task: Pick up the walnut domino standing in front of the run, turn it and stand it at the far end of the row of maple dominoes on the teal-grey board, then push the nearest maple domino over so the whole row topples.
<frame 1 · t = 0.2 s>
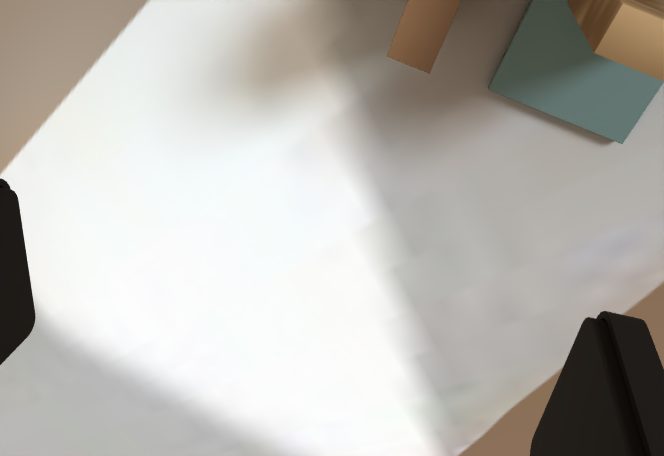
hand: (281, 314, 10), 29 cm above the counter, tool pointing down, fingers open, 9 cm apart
domino 4: (621, 2, 33), resting on board
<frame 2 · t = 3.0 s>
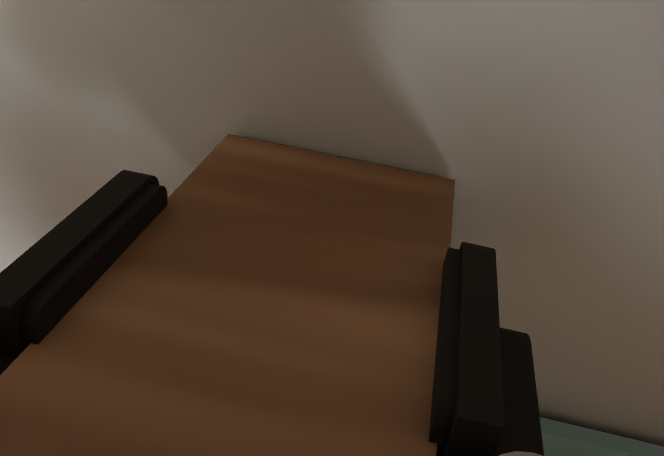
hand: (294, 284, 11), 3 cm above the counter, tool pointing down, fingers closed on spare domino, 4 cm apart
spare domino: (333, 197, 14), on the counter, touching gripper
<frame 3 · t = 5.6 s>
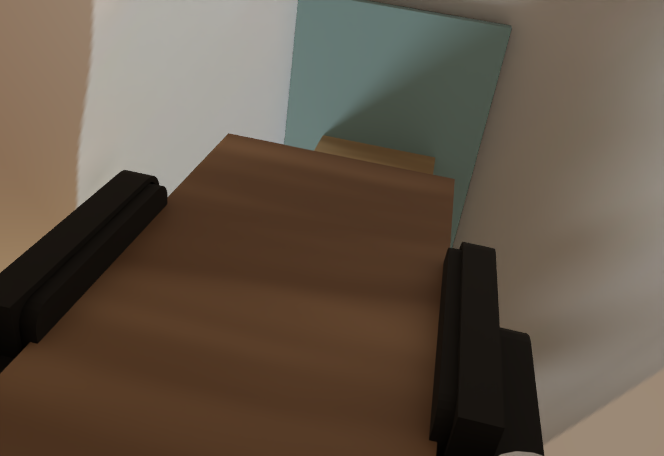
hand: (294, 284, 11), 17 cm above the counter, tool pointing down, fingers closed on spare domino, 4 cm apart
domino 4: (374, 166, 28), resting on board
board: (359, 254, 31), on the counter
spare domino: (333, 196, 14), point 14 cm above the counter, touching gripper
when the fingers open (5 cm above the counter, at t = 8.1 s): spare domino stays where it is, resting on board.
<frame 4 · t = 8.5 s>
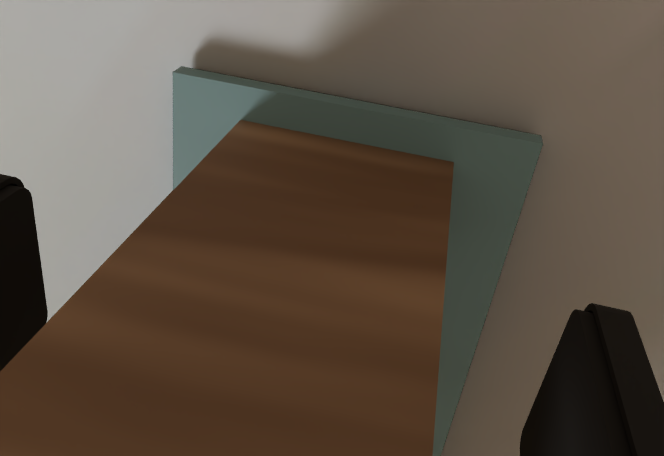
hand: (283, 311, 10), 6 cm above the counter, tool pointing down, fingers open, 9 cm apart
board: (302, 446, 20), on the counter
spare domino: (339, 179, 15), resting on board
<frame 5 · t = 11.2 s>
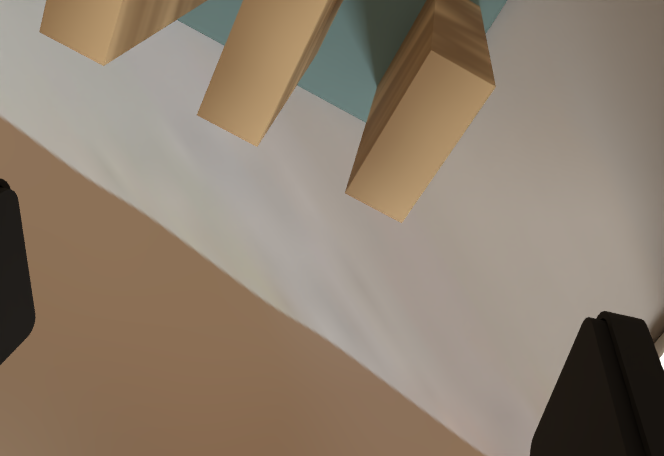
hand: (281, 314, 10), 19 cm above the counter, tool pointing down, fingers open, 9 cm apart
domino 1: (426, 48, 26), resting on board
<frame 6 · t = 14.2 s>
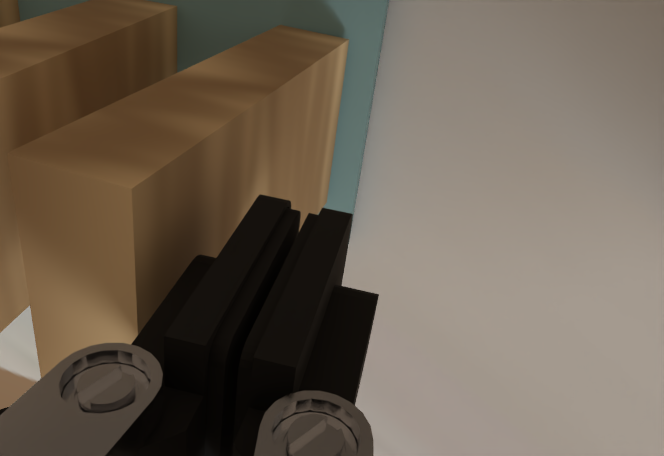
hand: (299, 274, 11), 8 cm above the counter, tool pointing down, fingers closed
domino 2: (146, 85, 19), resting on board
domino 1: (304, 118, 18), point 1 cm above the counter, tilted 6°, touching board
board: (6, 52, 20), on the counter
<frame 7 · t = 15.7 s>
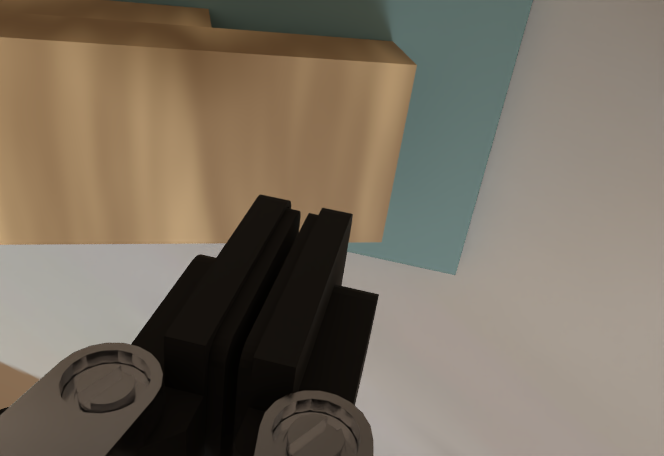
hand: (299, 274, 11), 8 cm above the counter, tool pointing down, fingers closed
domino 2: (207, 109, 17), point 1 cm above the counter, tilted 67°, touching domino 1, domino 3
domino 1: (387, 144, 17), point 1 cm above the counter, tilted 67°, touching board, domino 2
board: (102, 70, 19), on the counter
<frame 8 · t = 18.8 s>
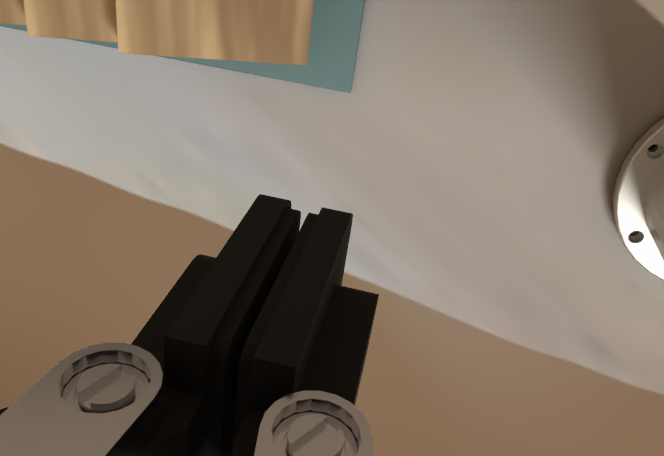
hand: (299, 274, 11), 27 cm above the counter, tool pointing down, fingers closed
domino 1: (308, 14, 34), point 1 cm above the counter, tilted 67°, touching board, domino 2
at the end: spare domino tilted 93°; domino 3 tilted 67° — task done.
